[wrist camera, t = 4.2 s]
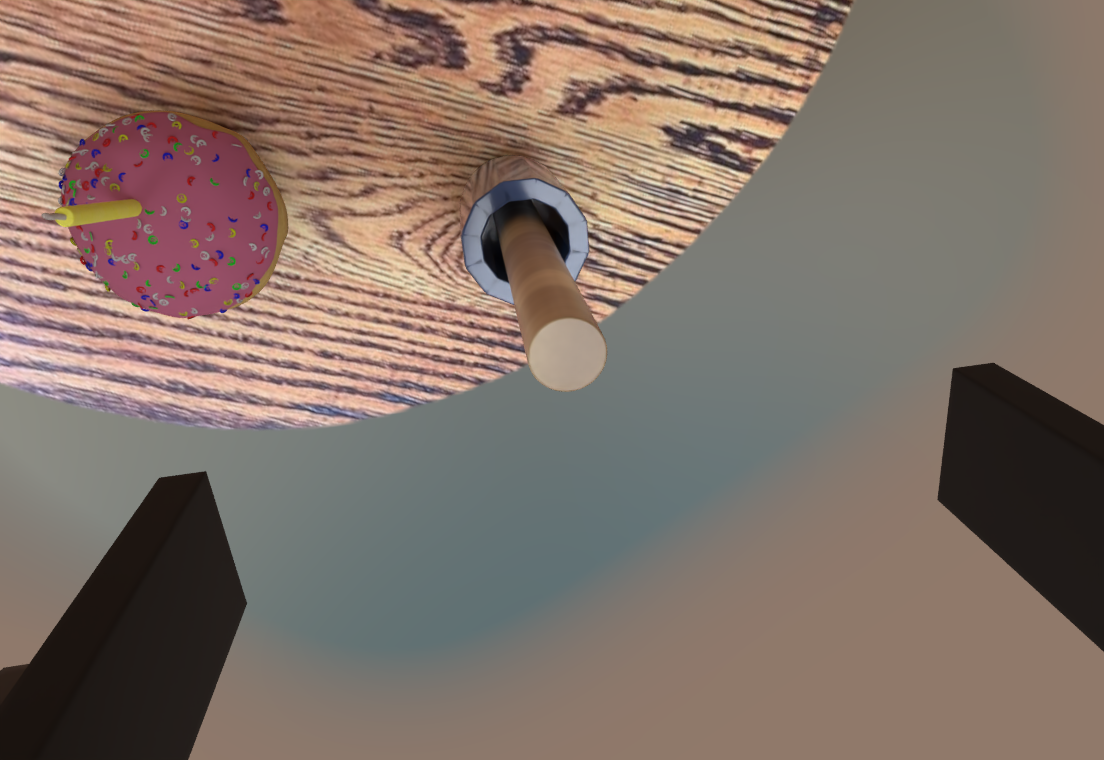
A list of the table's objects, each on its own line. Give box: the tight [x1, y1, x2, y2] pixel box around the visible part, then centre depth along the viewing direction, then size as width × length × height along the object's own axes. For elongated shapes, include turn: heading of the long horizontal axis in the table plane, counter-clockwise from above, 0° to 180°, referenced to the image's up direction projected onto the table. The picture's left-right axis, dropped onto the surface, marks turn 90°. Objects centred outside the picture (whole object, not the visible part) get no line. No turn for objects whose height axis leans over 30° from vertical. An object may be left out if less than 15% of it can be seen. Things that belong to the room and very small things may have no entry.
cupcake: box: [42, 111, 288, 319], centre depth 31 cm, size 9×8×12 cm
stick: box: [493, 199, 607, 392], centre depth 28 cm, size 2×2×20 cm
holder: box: [460, 155, 589, 305], centre depth 34 cm, size 5×5×8 cm
